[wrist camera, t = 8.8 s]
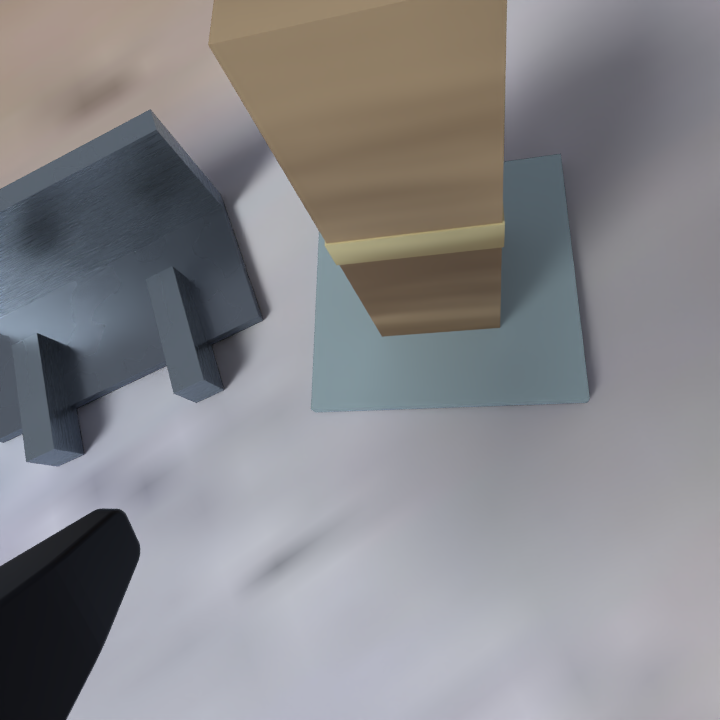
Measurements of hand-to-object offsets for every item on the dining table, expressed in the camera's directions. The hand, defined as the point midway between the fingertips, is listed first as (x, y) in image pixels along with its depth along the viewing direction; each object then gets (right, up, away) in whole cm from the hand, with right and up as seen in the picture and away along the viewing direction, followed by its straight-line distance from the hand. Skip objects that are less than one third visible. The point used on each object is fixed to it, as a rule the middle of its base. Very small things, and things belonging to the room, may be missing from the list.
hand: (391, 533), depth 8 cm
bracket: (-10, +4, +14) cm, 18 cm away
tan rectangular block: (+2, +5, +11) cm, 12 cm away
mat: (+2, +5, +11) cm, 13 cm away
